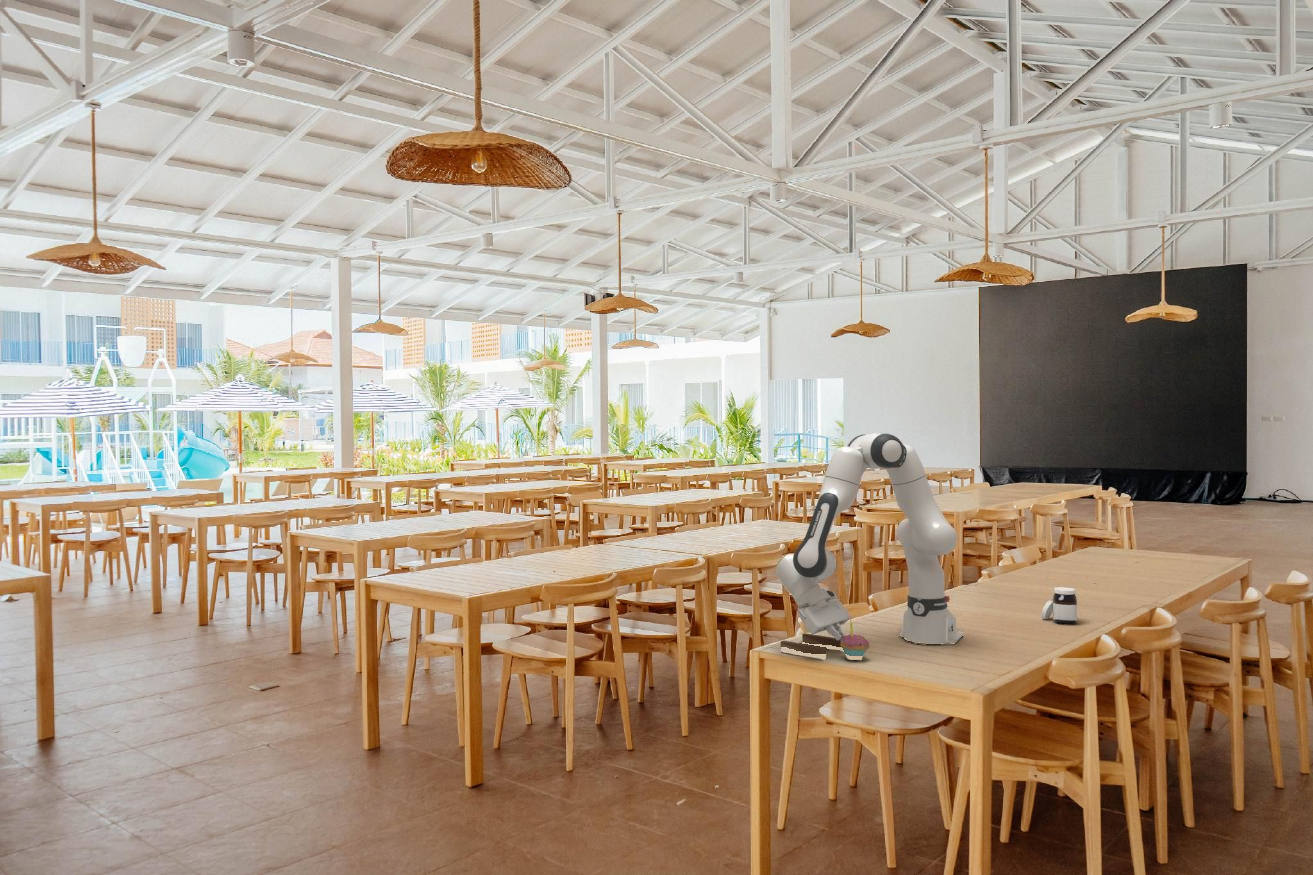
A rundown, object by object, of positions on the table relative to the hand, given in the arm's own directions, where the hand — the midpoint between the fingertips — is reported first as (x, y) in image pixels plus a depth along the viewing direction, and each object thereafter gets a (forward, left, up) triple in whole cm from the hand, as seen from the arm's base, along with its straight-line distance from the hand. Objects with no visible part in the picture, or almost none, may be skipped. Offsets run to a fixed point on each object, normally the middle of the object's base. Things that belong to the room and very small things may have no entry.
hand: (841, 638), depth 289 cm
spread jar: (-89, +35, -6) cm, 96 cm away
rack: (0, -10, -5) cm, 11 cm away
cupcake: (0, +4, -6) cm, 7 cm away
